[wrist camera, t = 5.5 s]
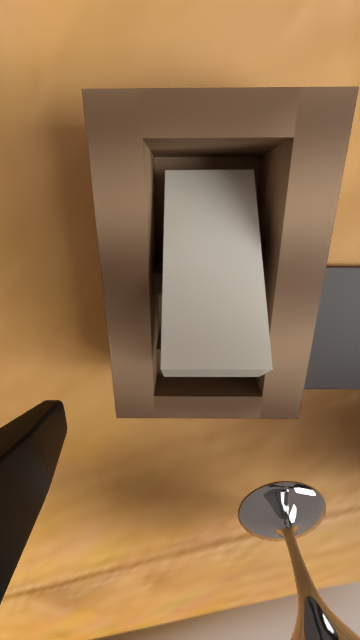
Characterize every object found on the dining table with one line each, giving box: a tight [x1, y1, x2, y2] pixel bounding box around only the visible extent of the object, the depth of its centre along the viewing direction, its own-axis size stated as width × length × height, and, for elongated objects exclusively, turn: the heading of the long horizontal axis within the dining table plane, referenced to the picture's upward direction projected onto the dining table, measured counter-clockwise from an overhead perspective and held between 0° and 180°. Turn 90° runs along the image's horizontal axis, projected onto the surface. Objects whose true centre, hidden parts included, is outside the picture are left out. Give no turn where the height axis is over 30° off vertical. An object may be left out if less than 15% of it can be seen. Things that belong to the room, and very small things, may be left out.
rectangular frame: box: [82, 87, 359, 419], centre depth 14 cm, size 13×9×5 cm
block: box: [161, 170, 273, 377], centre depth 13 cm, size 9×4×2 cm
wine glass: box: [239, 482, 360, 640], centre depth 17 cm, size 8×8×15 cm
